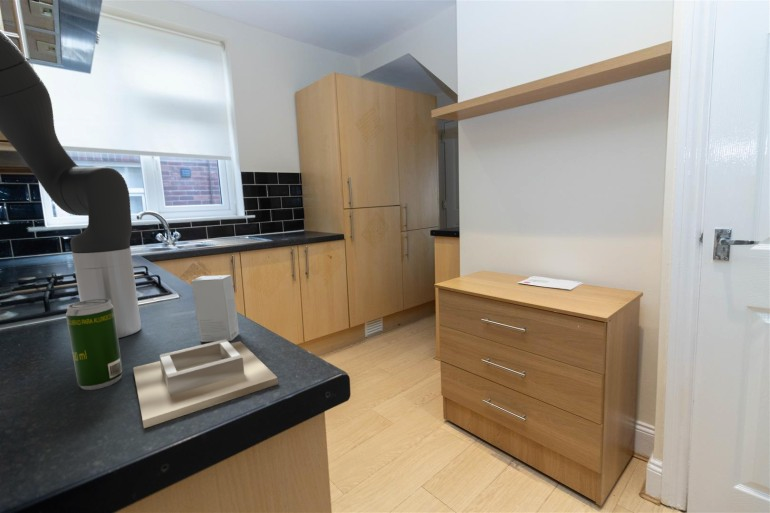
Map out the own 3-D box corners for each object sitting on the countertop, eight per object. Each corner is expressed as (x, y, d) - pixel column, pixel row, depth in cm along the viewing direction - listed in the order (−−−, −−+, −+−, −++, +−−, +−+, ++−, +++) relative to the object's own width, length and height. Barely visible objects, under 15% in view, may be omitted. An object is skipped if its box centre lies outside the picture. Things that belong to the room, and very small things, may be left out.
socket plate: (134, 373, 57) (131, 352, 56) (240, 346, 66) (238, 327, 66) (143, 428, 43) (139, 400, 42) (277, 384, 52) (276, 360, 52)
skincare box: (240, 333, 73) (234, 273, 71) (230, 342, 69) (224, 278, 67) (209, 334, 73) (202, 274, 71) (197, 343, 69) (190, 279, 67)
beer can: (131, 372, 58) (120, 297, 56) (109, 389, 52) (96, 307, 50) (94, 374, 57) (82, 299, 55) (68, 392, 52) (54, 309, 50)
